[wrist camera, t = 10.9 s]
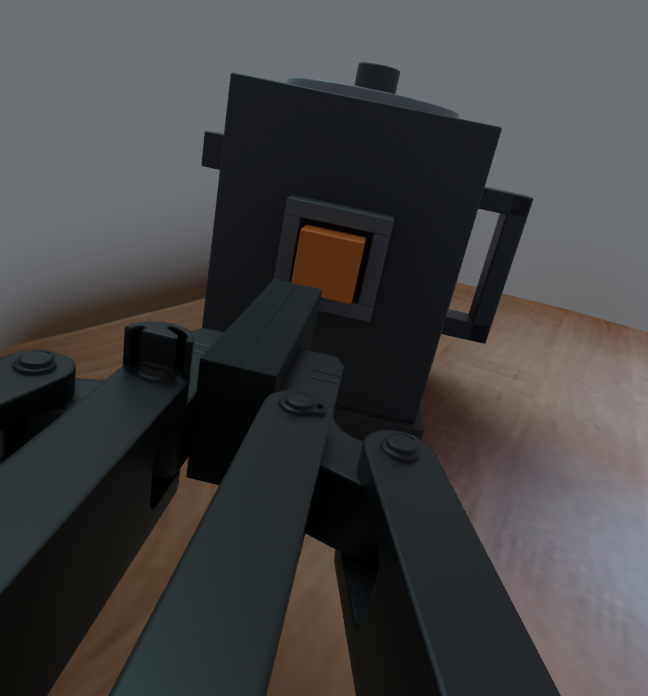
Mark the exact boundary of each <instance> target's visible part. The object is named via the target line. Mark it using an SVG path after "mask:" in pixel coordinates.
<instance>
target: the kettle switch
mask: <svg viewBox="0 0 648 696" xmlns="http://www.w3.org/2000/svg"><path fill="white" fill-rule="evenodd" d="M365 242H366V237H364V236H359V235H355V234H350V233H346V232H341V231H336V230H332V229H327V228H323V227H318V226H313V225H309V224H307V225H306V226H305V227H303V228H302V229H301V231H300V237H299V242H298V248H297V254H296V259H295V265H294V271H293V277H292V282H291V283H295V284H299V285H304V286H308V287H313V288H317V289H322V294H321V298H325V299H329V300H333V301H338V302H342V303H347V304H351V302H352V299H353V295H354V291H355V287H356V282H357V278H358V273H359V269H360V264H361V260H362V255H363V251H364V246H365Z"/></svg>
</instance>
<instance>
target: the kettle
mask: <svg viewBox="0 0 648 696" xmlns="http://www.w3.org/2000/svg"><path fill="white" fill-rule="evenodd" d="M399 75H400V71H398V70H397V69H394V68H392V67H388V66H384V65H380V64H375V63H367V62H362V63H359V65H358V70H357V75H356V80H355V85H354V86H352V85H347V84H341V83H336V82H329V81H323V80H315V79H306V78H289V79H288V81H287V83H283V82H278V81H273V80H267V79H263V78H258V77H253V76H248V75H244V74H238V73H234V72H233V73H231V78H230V86H229V95H228V105H227V113H226V122H225V130H224V133H219V132H212V131H205V136H204V145H203V156H202V166H205V167H209V168H214V169H219V170H220V175H219V183H218V192H217V202H216V210H215V219H214V228H213V236H212V245H211V255H210V263H209V272H208V281H207V289H206V298H205V307H204V316H203V325H202V328H207V329H211V330H215V331H220V332H225V331H226V330H227V329H228V328H229V327H230V326H231V325H232V324H233V323H234V322H235V321H236V320H237V318H238V317H239V316H240V315H241V314H242V313H243V312H244V311H245V310H246V309H247V308H248V307H249V306H250V305H251V304H252V302H253V301H254V300H255V299H256V298H257V297H258V296H259V295H260V294H261V293H262V292H263V291H264V290H265V289H266V287H267V286H268V285H269V284H270V283H271V282H272V281H273V280H274V279H277V280H281V281H286V282H290V283H291V282H292V277H293V271H294V265H295V259H296V254H297V248H298V242H299V237H300V231H301V229H302V228H303V227H305V226H306V225H307V224H309V225H313V226H318V227H323V228H327V229H332V230H336V231H341V232H346V233H350V234H355V235H359V236H364V237H366V242H365V246H364V251H363V255H362V260H361V264H360V269H359V273H358V278H357V282H356V287H355V291H354V295H353V299H352V302H351V304H347V303H342V302H338V301H333V300H329V299H325V298H321V299H320V304H319V309H318V314H317V319H316V324H315V329H314V334H313V339H312V344H311V349H310V351H314V352H318V353H322V354H327V355H331V356H335V357H338V358H339V360H340V361H341V363H342V365H343V366H344V369H343V373H342V377H341V382H340V386H339V390H338V395H337V399H336V404H335V408H334V412H333V419H334V421H335V423H336V424H337V425H338V426H339V427H340V429H342V430H343V431H344V432H346V433H347V434H349V435H351V436H352V437H354V438H357V439H361V440H364V438H365V437H366V436H367V435H368V434H369V433H371V432H374V431H378V430H394V431H399V432H400V431H402V432H406V433H409V435H413V436H415V437H417V438H418V439H420V440H421V437H422V434H423V423H422V413H421V400H422V397H423V393H424V390H425V387H426V383H427V380H428V376H429V373H430V370H431V366H432V363H433V360H434V356H435V353H436V349H437V346H438V343H439V339H440V336H441V334H444V335H448V336H453V337H457V338H462V339H466V340H471V341H475V342H479V343H484V344H485V343H486V340H487V337H488V334H489V331H490V328H491V325H492V322H493V319H494V316H495V313H496V310H497V307H498V304H499V301H500V298H501V295H502V292H503V289H504V286H505V283H506V280H507V277H508V274H509V271H510V268H511V265H512V262H513V259H514V256H515V253H516V250H517V247H518V244H519V241H520V238H521V235H522V232H523V228H524V226H525V223H526V220H527V217H528V214H529V211H530V208H531V205H532V202H533V198H531V197H528V196H526V195H521V194H516V193H512V192H507V191H503V190H498V189H493V188H488V187H485V184H486V180H487V177H488V174H489V170H490V167H491V164H492V160H493V157H494V154H495V150H496V147H497V143H498V139H499V137H500V133H501V130H502V129H501V127H497V126H492V125H488V124H483V123H478V122H472V121H468V120H463V119H458V117H459V114H457V113H456V112H454V111H452V110H449V109H447V108H444V107H441V106H438V105H434V104H431V103H427V102H424V101H420V100H416V99H412V98H408V97H404V96H400V95H396V94H395V93H396V89H397V84H398V80H399ZM478 209H483V210H487V211H492V212H497V213H500V215H499V218H498V221H497V225H496V228H495V231H494V234H493V237H492V241H491V244H490V247H489V250H488V254H487V257H486V260H485V263H484V266H483V270H482V273H481V276H480V279H479V282H478V286H477V289H476V292H475V295H474V298H473V302H472V305H471V308H470V311H469V314H467V313H463V312H458V311H454V310H449V306H450V302H451V299H452V295H453V292H454V289H455V285H456V282H457V279H458V275H459V272H460V268H461V265H462V262H463V258H464V255H465V251H466V248H467V245H468V241H469V238H470V235H471V231H472V228H473V224H474V221H475V218H476V214H477V211H478Z"/></svg>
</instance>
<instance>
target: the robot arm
mask: <svg viewBox="0 0 648 696" xmlns="http://www.w3.org/2000/svg"><path fill="white" fill-rule="evenodd" d="M321 294H322V289H317V288H313V287H308V286H304V285H299V284H295V283H290V282H286V281H281V280H277V279H274V280H273V281H272V282H271V283H270V284H269V285H268V286H267V287H266V289H265V290H264V291H263V292H262V293H261V294H260V295H259V296H258V297H257V298H256V299H255V300H254V301H253V302H252V304H251V305H250V306H249V307H248V308H247V309H246V310H245V311H244V312H243V313H242V314H241V315H240V316H239V317H238V318H237V320H236V321H235V322H234V323H233V324H232V325H231V326H230V327H229V328H228V329H227V330H226V331H225V332H220V331H215V330H211V329H207V328H201V329H198V330H195V331H192V332H190V331H189V330H187V329H185V328H184V327H181V326H178V325H175V324H171V323H164V322H139V323H133V324H131V325H128V326H126V327H125V336H124V354H123V366H122V367H121V368H120V369H119V370H117V371H116V372H115V373H114V374H112V375H111V376H110V377H109V378H107V379H106V380H95V379H80V378H75V372H76V365H75V363H74V361H73V360H72V359H70V358H69V357H67V356H65V355H63V354H59V353H55V352H53V351H48V350H45V351H43V350H32V351H24V352H18V353H14V354H10V355H6V356H3V357H1V358H0V696H47V695H48V693H49V692H50V690H51V688H52V687H53V685H54V684H55V682H56V681H57V679H58V677H59V676H60V674H61V673H62V671H63V670H64V668H65V666H66V665H67V663H68V662H69V660H70V658H71V657H72V655H73V654H74V652H75V651H76V649H77V647H78V646H79V644H80V643H81V641H82V640H83V638H84V636H85V635H86V633H87V632H88V630H89V629H90V627H91V625H92V624H93V622H94V621H95V619H96V618H97V616H98V614H99V613H100V611H101V610H102V608H103V607H104V605H105V603H106V602H107V600H108V599H109V597H110V595H111V594H112V592H113V591H114V589H115V588H116V586H117V584H118V583H119V581H120V580H121V578H122V577H123V575H124V573H125V572H126V570H127V569H128V567H129V566H130V564H131V562H132V561H133V559H134V558H135V556H136V555H137V553H138V551H139V550H140V548H141V547H142V545H143V544H144V542H145V540H146V539H147V537H148V536H149V534H150V532H151V531H152V529H153V528H154V526H155V525H156V523H157V521H158V520H159V518H160V517H161V515H162V514H163V512H164V510H165V509H166V507H167V506H168V504H169V503H170V501H171V499H172V498H173V496H174V495H175V493H176V491H177V488H178V485H179V476H180V468H181V467H182V465H183V464H184V462H185V461H186V459H187V458H188V456H189V459H188V467H187V476H186V477H187V478H192V479H196V480H200V481H204V482H208V483H212V484H216V485H219V487H218V489H217V491H216V493H215V495H214V497H213V499H212V500H211V502H210V504H209V506H208V508H207V510H206V512H205V514H204V516H203V517H202V519H201V521H200V523H199V525H198V527H197V529H196V531H195V533H194V534H193V536H192V538H191V540H190V542H189V544H188V546H187V548H186V550H185V551H184V553H183V555H182V557H181V559H180V561H179V563H178V565H177V567H176V568H175V570H174V572H173V574H172V576H171V578H170V580H169V582H168V584H167V585H166V587H165V589H164V591H163V593H162V595H161V597H160V599H159V601H158V602H157V604H156V606H155V608H154V610H153V612H152V614H151V616H150V618H149V620H148V621H147V623H146V625H145V627H144V629H143V631H142V633H141V635H140V637H139V638H138V640H137V642H136V644H135V646H134V648H133V650H132V652H131V654H130V655H129V657H128V659H127V661H126V663H125V665H124V667H123V669H122V671H121V672H120V674H119V676H118V678H117V680H116V682H115V684H114V686H113V688H112V689H111V691H110V693H109V695H108V696H266V695H267V690H268V686H269V682H270V678H271V674H272V670H273V665H274V661H275V657H276V653H277V649H278V645H279V640H280V636H281V632H282V628H283V624H284V620H285V615H286V611H287V607H288V603H289V599H290V594H291V590H292V586H293V582H294V578H295V574H296V569H297V565H298V561H299V557H300V554H301V550H302V546H303V541H304V537H305V533H306V534H308V535H310V536H311V537H313V538H315V539H317V540H319V541H321V542H323V543H325V544H326V545H328V546H330V547H332V548H334V549H336V550H335V558H334V563H335V569H336V575H337V581H338V588H339V594H340V600H341V606H342V612H343V618H344V625H345V631H346V637H347V643H348V649H349V655H350V662H351V668H352V674H353V680H354V686H355V692H356V696H560V694H559V692H558V690H557V688H556V686H555V684H554V682H553V680H552V678H551V676H550V674H549V672H548V670H547V669H546V667H545V665H544V663H543V661H542V659H541V657H540V655H539V653H538V651H537V649H536V647H535V645H534V643H533V642H532V640H531V638H530V636H529V634H528V632H527V630H526V628H525V626H524V624H523V622H522V620H521V618H520V616H519V614H518V613H517V611H516V609H515V607H514V605H513V603H512V601H511V599H510V597H509V595H508V593H507V591H506V589H505V587H504V586H503V584H502V582H501V580H500V578H499V576H498V574H497V572H496V570H495V568H494V566H493V564H492V562H491V560H490V559H489V557H488V555H487V553H486V551H485V549H484V547H483V545H482V543H481V541H480V539H479V537H478V535H477V533H476V532H475V530H474V528H473V526H472V524H471V522H470V520H469V518H468V516H467V514H466V512H465V510H464V508H463V506H462V504H461V503H460V501H459V499H458V497H457V495H456V493H455V491H454V489H453V487H452V485H451V483H450V481H449V479H448V477H447V476H446V474H445V472H444V470H443V468H442V466H441V464H440V462H439V460H438V458H437V456H436V454H435V453H434V452H433V450H432V449H431V448H430V447H429V446H428V445H427V444H426V443H424V442H423V441H421V440H420V439H418V438H417V437H415V436H413V435H409V433H406V432H402V431H400V432H399V431H394V430H378V431H374V432H371V433H369V434H368V435H367V436H366V437H365V438H364V442H363V441H361V440H358V439H356V438H354V437H352V436H351V435H349V434H347V433H346V432H344V431H343V430H342V429H340V427H339V426H338V425H337V424H336V423H335V421H334V419H333V412H334V408H335V404H336V399H337V395H338V390H339V386H340V382H341V377H342V373H343V369H344V366H343V365H342V363H341V361H340V360H339V358H338V357H335V356H331V355H327V354H322V353H318V352H314V351H310V349H311V344H312V339H313V334H314V329H315V324H316V319H317V314H318V309H319V304H320V299H321Z"/></svg>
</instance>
